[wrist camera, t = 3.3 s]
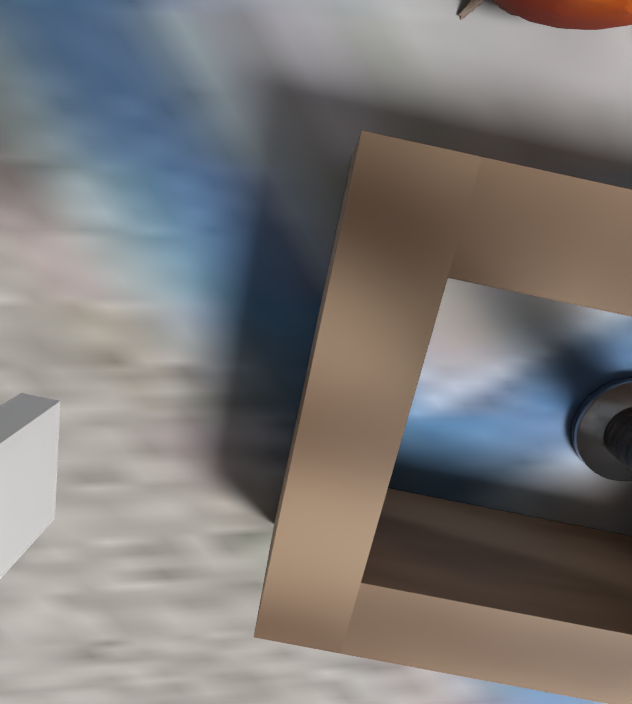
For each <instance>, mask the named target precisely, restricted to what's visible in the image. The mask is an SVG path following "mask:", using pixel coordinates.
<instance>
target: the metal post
mask: <svg viewBox="0 0 632 704" xmlns="http://www.w3.org/2000/svg"><path fill="white" fill-rule="evenodd" d="M571 439H572V444H573V447H574V449H575V451H576V453H577V455H578V456H579V458H580V459H581V460H582V461H583V462H584V463H585V464H586V465H587V466H588V467H589V468H590V469H591V470H592V471H594V472H595V473H597V474H598V475H600V476H602V477H605V478H607V479H611V480H616V481H632V377H631V378H623V379H619V380H615V381H612V382H610V383H607V384H605V385H603V386H602V387H600V388H598V389H597V390H595V391H594V392H593V393H591V394H590V395H589V396H588V397H587V398H586V399H585V400H584V402H583V403H582V404H581V405H580V407H579V409H578V410H577V412H576V414H575V416H574V419H573V423H572V428H571Z"/></svg>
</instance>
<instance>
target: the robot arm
mask: <svg viewBox="0 0 632 704" xmlns="http://www.w3.org/2000/svg"><path fill="white" fill-rule="evenodd" d="M59 420H60V401H58V400H53V399H48V398H43V397H38V396H33V395H28V394H24V393H21V394H19V395H17V396H16V397H14V398H12V399H11V400H9V401H7V402H6V403H4V404H2V405H1V406H0V579H1V578H2V577H3V575H4V574H5V573H6V572H7V571H8V570H9V569H10V568H11V567H12V565H13V564H14V563H15V562H16V561H17V560H18V559H19V558H20V557H21V556H22V554H23V553H24V552H25V551H26V550H27V549H28V548H29V547H30V546H31V544H32V543H33V542H34V541H35V540H36V539H37V538H38V537H39V536H40V534H41V533H42V532H43V531H44V530H45V529H46V528H47V527H48V526H49V524H50V523H51V522H52V521H53V520H54V519H55V506H56V484H57V463H58V441H59Z"/></svg>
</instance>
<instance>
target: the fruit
mask: <svg viewBox="0 0 632 704" xmlns="http://www.w3.org/2000/svg"><path fill="white" fill-rule="evenodd" d="M483 1H484V0H471V1H470V2H469V3H468V4H467V6H466V7H465V8H464V9H463V10H462V11H461V12H460V13H459V15H458V16H461V19H464V18H465V17H466V16H467V14H469V13H470V12H472V11H473V10H474V9H475V8H476V7H477V6H479V5H480V4H481V3H482V2H483ZM493 1H494V2H495V3H496V4H497V5H498V6H499V7H500V8H501V9H503V10H505V11H506V12H507V13H509V14H511V15H515V16H520V17H521V18H523V19H526V20H528V21H530V22H534V23H538V24H543V25H547V26H551V27H556V28H564V29H581V30H598V29H606V28H612V27H620V26H627V25H632V0H493ZM461 19H460V20H461Z"/></svg>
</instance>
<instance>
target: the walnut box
mask: <svg viewBox="0 0 632 704" xmlns="http://www.w3.org/2000/svg"><path fill="white" fill-rule="evenodd" d="M447 278H452V279H457V280H461V281H466V282H471V283H476V284H480V285H485V286H490V287H494V288H499V289H504V290H509V291H513V292H518V293H523V294H528V295H532V296H537V297H542V298H546V299H551V300H556V301H561V302H565V303H570V304H575V305H580V306H584V307H589V308H594V309H598V310H603V311H608V312H613V313H617V314H622V315H627V316H631V317H632V190H631V189H626V188H622V187H617V186H613V185H608V184H603V183H599V182H594V181H590V180H585V179H581V178H576V177H572V176H567V175H562V174H558V173H553V172H549V171H544V170H540V169H535V168H531V167H526V166H521V165H517V164H512V163H508V162H503V161H499V160H494V159H490V158H485V157H480V156H476V155H471V154H467V153H462V152H458V151H453V150H449V149H444V148H439V147H435V146H430V145H426V144H421V143H417V142H412V141H408V140H403V139H398V138H394V137H389V136H385V135H380V134H376V133H371V132H367V131H362V132H361V134H360V137H359V139H358V142H357V145H356V147H355V150H354V152H353V155H352V158H351V163H350V168H349V172H348V177H347V182H346V187H345V191H344V196H343V201H342V206H341V210H340V215H339V220H338V225H337V229H336V234H335V239H334V244H333V248H332V253H331V258H330V263H329V267H328V272H327V277H326V281H325V286H324V291H323V296H322V300H321V305H320V310H319V315H318V319H317V324H316V329H315V334H314V338H313V343H312V348H311V353H310V357H309V362H308V367H307V372H306V376H305V381H304V386H303V391H302V395H301V400H300V405H299V410H298V414H297V419H296V424H295V428H294V433H293V438H292V443H291V447H290V452H289V457H288V462H287V466H286V471H285V476H284V481H283V485H282V490H281V495H280V500H279V504H278V509H277V514H276V519H275V523H274V529H273V534H272V540H271V545H270V551H269V556H268V562H267V567H266V573H265V578H264V584H263V589H262V595H261V600H260V606H259V611H258V617H257V622H256V628H255V633H254V637H255V638H261V639H266V640H271V641H277V642H282V643H287V644H293V645H298V646H303V647H309V648H314V649H319V650H325V651H330V652H336V653H341V654H346V655H352V656H357V657H362V658H368V659H373V660H378V661H384V662H389V663H394V664H400V665H405V666H410V667H416V668H421V669H426V670H432V671H437V672H442V673H448V674H453V675H458V676H464V677H469V678H474V679H480V680H485V681H490V682H496V683H501V684H506V685H512V686H517V687H522V688H528V689H533V690H538V691H544V692H549V693H554V694H560V695H565V696H570V697H576V698H581V699H586V700H592V701H597V702H602V703H608V704H632V536H627V535H622V534H617V533H612V532H607V531H602V530H596V529H591V528H586V527H581V526H576V525H571V524H566V523H561V522H556V521H551V520H546V519H541V518H536V517H531V516H526V515H521V514H516V513H511V512H506V511H501V510H495V509H490V508H485V507H480V506H475V505H470V504H465V503H460V502H455V501H450V500H445V499H440V498H435V497H430V496H425V495H420V494H415V493H410V492H405V491H400V490H394V489H389V488H388V486H389V482H390V479H391V475H392V472H393V468H394V464H395V461H396V457H397V454H398V450H399V447H400V443H401V440H402V436H403V433H404V429H405V426H406V422H407V419H408V415H409V412H410V408H411V405H412V401H413V398H414V394H415V391H416V387H417V384H418V380H419V377H420V373H421V370H422V366H423V363H424V359H425V356H426V352H427V349H428V345H429V342H430V338H431V335H432V331H433V328H434V324H435V321H436V317H437V314H438V310H439V306H440V303H441V299H442V296H443V292H444V289H445V285H446V282H447Z"/></svg>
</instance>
